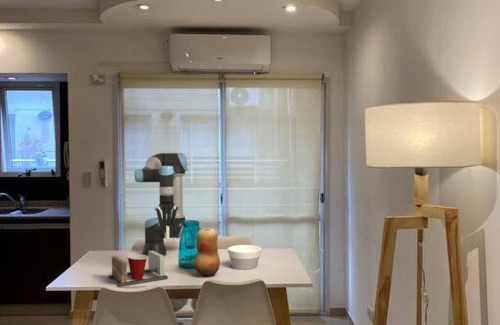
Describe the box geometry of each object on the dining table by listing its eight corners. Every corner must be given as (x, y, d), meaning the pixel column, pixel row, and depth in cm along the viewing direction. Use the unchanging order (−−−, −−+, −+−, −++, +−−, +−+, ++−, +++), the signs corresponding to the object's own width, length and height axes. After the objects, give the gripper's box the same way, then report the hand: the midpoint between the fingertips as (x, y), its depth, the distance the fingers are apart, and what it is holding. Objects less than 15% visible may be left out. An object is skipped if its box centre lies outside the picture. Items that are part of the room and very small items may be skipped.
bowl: (245, 273, 255) (245, 253, 254) (220, 267, 268) (220, 248, 267) (268, 266, 269) (268, 248, 269) (243, 261, 282) (243, 243, 282)
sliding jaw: (152, 268, 258) (152, 250, 258) (164, 275, 245) (164, 256, 244) (147, 269, 256) (147, 251, 256) (159, 276, 243) (158, 256, 243)
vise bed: (153, 270, 260) (153, 250, 260) (167, 279, 244) (167, 257, 244) (108, 277, 246) (108, 256, 246) (120, 287, 230) (119, 263, 230)
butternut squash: (191, 278, 245) (190, 230, 244) (198, 271, 259) (198, 226, 258) (217, 279, 243) (216, 231, 242) (222, 272, 256) (222, 227, 255)
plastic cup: (149, 280, 242) (148, 257, 241) (127, 282, 238) (127, 258, 238) (147, 274, 252) (147, 252, 252) (126, 276, 249) (126, 254, 248)
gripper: (157, 195, 246) (158, 240, 247) (180, 194, 253) (180, 237, 254) (152, 194, 252) (152, 238, 253) (174, 193, 260) (175, 235, 260)
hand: (166, 238), depth 253 cm, fingers closed
